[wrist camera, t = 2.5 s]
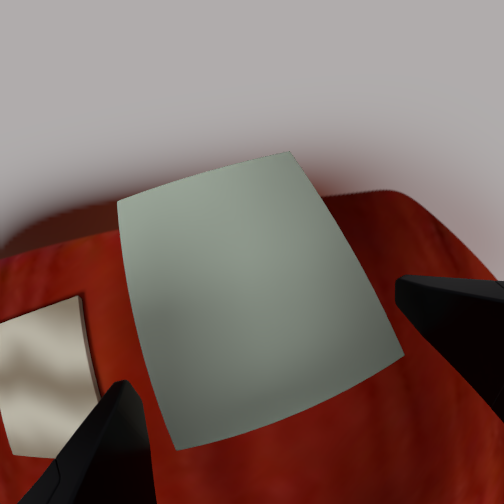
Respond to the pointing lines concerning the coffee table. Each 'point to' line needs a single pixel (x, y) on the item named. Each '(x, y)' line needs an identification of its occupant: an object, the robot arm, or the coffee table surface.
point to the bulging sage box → (247, 299)
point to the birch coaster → (46, 378)
